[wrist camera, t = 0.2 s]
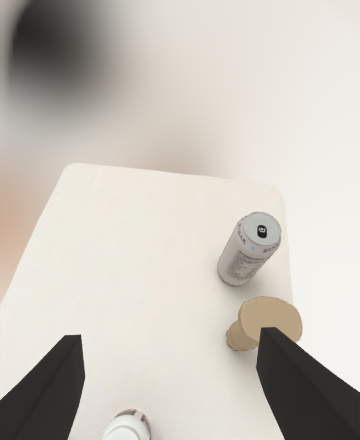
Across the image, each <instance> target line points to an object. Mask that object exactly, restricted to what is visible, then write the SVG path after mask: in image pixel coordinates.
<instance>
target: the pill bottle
mask: <svg viewBox="0 0 360 440" xmlns="http://www.w3.org/2000/svg"><path fill="white" fill-rule="evenodd" d="M150 439H151V429H150V425H149V422H148V420H147V418H146V416H145V415H144V414H143V413H141V412H140V411H138V410H135V409H128V410H125V411H123V412H121V413H120V414H118V415H117V416H116V417H115V418H114V419H113V420H112V421H110V422H109V423H108V424H107V426H106V427H105V429H104V430H103V432H102V434H101V436H100V439H99V440H150Z"/></svg>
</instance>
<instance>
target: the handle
mask: <svg viewBox="0 0 360 440" xmlns="http://www.w3.org/2000/svg"><path fill="white" fill-rule="evenodd" d="M261 327H276V328H278V329H279V330H280V331H281V332H283V333H284V334H285V335H286V336H287V337H289V338H290V339H291V340H292V341H293V342H296V341H299V340H300V338H301V335H302V321H301V317H300V315H299V312H298V311H297V309H296V308H295V307H294V306H292V305H291V304H289V303H287V302H285V301H283V300H281V299H279V298H274V297H265V296H260V297H256V298H253V299H251V300H248V301H246V302H244V303H243V304H242V306H241V308H240V310H239V314H238V320H237V321H236V322H234V323H233V324H232V325H231V327H230V328H229V330H228V331H227V333H226V335H227V341H226V343H227V345H230V346H231V347H233V349H234V350H235V351H246V350H251V349H254V348H256V347H258V346H259V340H260V332H261Z"/></svg>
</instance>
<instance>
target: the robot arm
mask: <svg viewBox="0 0 360 440" xmlns="http://www.w3.org/2000/svg"><path fill="white" fill-rule="evenodd" d="M256 369H257V372H258V375H259V379H260V382H261V385H262V388H263V391H264V394H265V396H266V399H267V401H268V403H269V405H270V408H271V410H272V412H273V414H274V417H275V419H276V421H277V423H278V425H279V428H280V430H281V432H282V434H283V436H284V439H285V440H360V392H358V391H357V390H356V389H354V388H353V387H351V386H350V385H348V384H347V383H346V382H344V381H343V380H342V379H340V378H339V377H337V376H336V375H335V374H333V373H332V372H331V371H329V370H328V369H327V368H326V367H324V366H323V365H322V364H320V363H319V362H318V361H317V360H315V359H314V358H313V357H312V356H310V355H309V354H308V353H307V352H305V351H304V350H303V349H302V348H301V347H299V346H298V345H297V344H296V343H295V342H293V341H292V340H291V339H290V338H289V337H287V336H286V335H285V334H284V333H283V332H281V331H280V330H279V329H278V328H276V327H261V332H260V340H259V348H258V356H257V365H256ZM84 380H85V370H84V360H83V350H82V340H81V335H65V336H64V337H63V338H62V339H61V340H60V341H59V342H58V343H57V344H56V345H55V346H54V347H53V348H52V349H51V350H50V351H49V352H48V353H47V354H46V355H45V357H44V358H43V359H42V360H41V361H40V362H39V363H38V364H37V365H36V366H35V367H34V368H33V369H32V370H31V371H30V372H29V373H28V374H27V375H26V376H25V377H24V378H23V379H22V380H21V381H20V382H19V383H18V384H17V385H16V386H15V387H14V388H13V389H12V390H11V391H10V392H8V393H7V394H6V395H5V396H4V397H3V398H2V399H1V400H0V440H67V439H68V436H69V434H70V431H71V428H72V425H73V422H74V419H75V416H76V413H77V410H78V407H79V402H80V398H81V394H82V390H83V385H84Z"/></svg>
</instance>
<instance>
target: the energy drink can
mask: <svg viewBox="0 0 360 440" xmlns="http://www.w3.org/2000/svg"><path fill="white" fill-rule="evenodd" d="M280 242H281V227H280V224H279V223H278V221H277V220H276V219H275V218H274V217H273V216H271V215H269V214H267V213H264V212H254V213H251V214H249V215H248V216H245V217H243V218H242V219H240V220H239V222H238V223H237V225H236V227H235V229H234V231H233V233H232V235H231V237H230V239H229V241H228V243H227V245H226V247H225V248H224V250H223V252H222V254H221V256H220V258H219V261H218V264H217V269H218V273H219V275H220V276H221V278H222V279H223V280H224V281H225V282H227V283H229V284H231V285H243V284H245V283H246V282H248V281H249V280H250V279H251V277H252V276H253V275H254V274H255V273H256V272H257V271H258V270H259V269H260V268H261V266H262V265H263V264H264V263H265V262H266V261H267V260H268V259H269V258H270V257H271V256H272V254H273V253H274V252H275V251H276V250H277V249H278V247H279V246H280Z"/></svg>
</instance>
